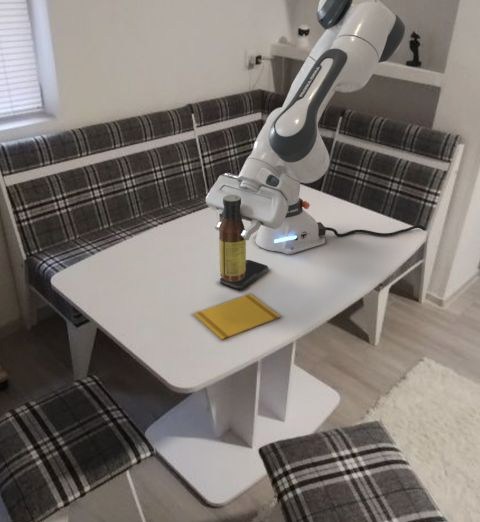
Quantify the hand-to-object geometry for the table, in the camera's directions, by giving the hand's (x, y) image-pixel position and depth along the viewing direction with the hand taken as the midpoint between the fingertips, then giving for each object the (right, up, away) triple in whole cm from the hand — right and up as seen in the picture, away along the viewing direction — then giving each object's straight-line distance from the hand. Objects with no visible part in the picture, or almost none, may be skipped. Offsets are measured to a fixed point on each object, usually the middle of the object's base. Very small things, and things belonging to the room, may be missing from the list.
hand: (231, 234), depth 121 cm
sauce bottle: (0, -9, +7) cm, 12 cm away
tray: (+2, -18, +14) cm, 23 cm away
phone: (+4, -6, +30) cm, 31 cm away
